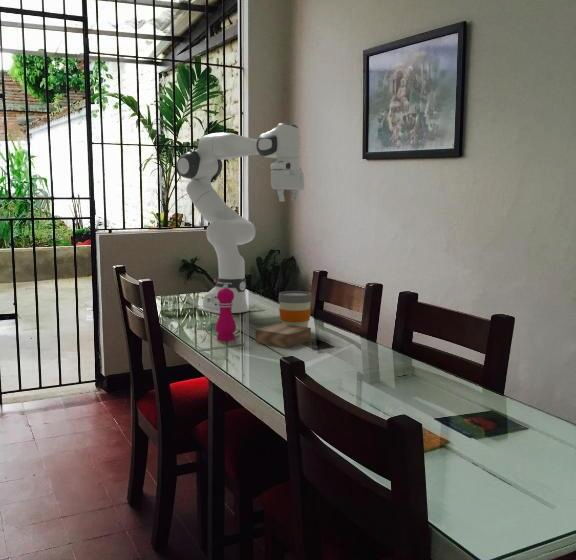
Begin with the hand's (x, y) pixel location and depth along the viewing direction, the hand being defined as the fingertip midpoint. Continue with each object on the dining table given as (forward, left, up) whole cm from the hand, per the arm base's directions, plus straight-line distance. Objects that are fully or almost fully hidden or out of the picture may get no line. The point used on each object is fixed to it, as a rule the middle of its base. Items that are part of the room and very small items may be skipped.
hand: (288, 201), depth 252 cm
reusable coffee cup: (+11, -10, -49) cm, 51 cm away
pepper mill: (-2, -35, -49) cm, 61 cm away
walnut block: (+16, -25, -49) cm, 58 cm away
